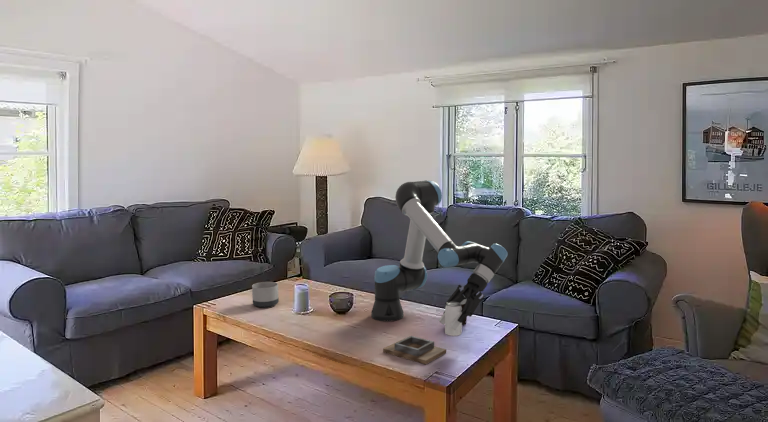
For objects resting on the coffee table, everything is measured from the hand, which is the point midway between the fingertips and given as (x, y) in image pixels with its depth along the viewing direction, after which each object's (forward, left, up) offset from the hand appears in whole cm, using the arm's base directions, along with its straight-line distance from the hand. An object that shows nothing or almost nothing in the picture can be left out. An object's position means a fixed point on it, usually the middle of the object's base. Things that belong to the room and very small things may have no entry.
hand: (446, 325), depth 212 cm
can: (+1, +3, -4) cm, 5 cm away
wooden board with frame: (-10, -8, -11) cm, 17 cm away
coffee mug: (-15, +34, -11) cm, 39 cm away
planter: (-107, -1, -11) cm, 108 cm away
